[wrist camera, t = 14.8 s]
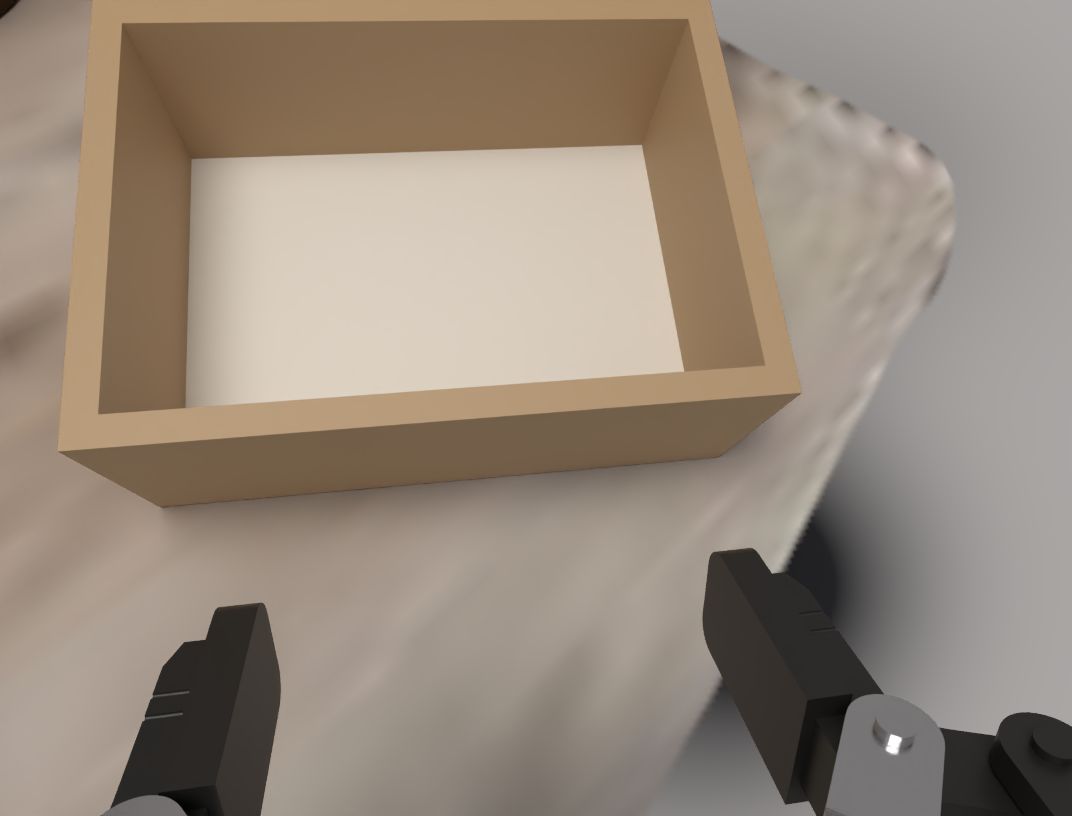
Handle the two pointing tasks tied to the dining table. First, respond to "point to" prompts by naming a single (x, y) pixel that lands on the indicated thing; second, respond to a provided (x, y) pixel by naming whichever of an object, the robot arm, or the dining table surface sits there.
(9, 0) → the olive oil
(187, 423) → the mailer box
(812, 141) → the dining table surface
